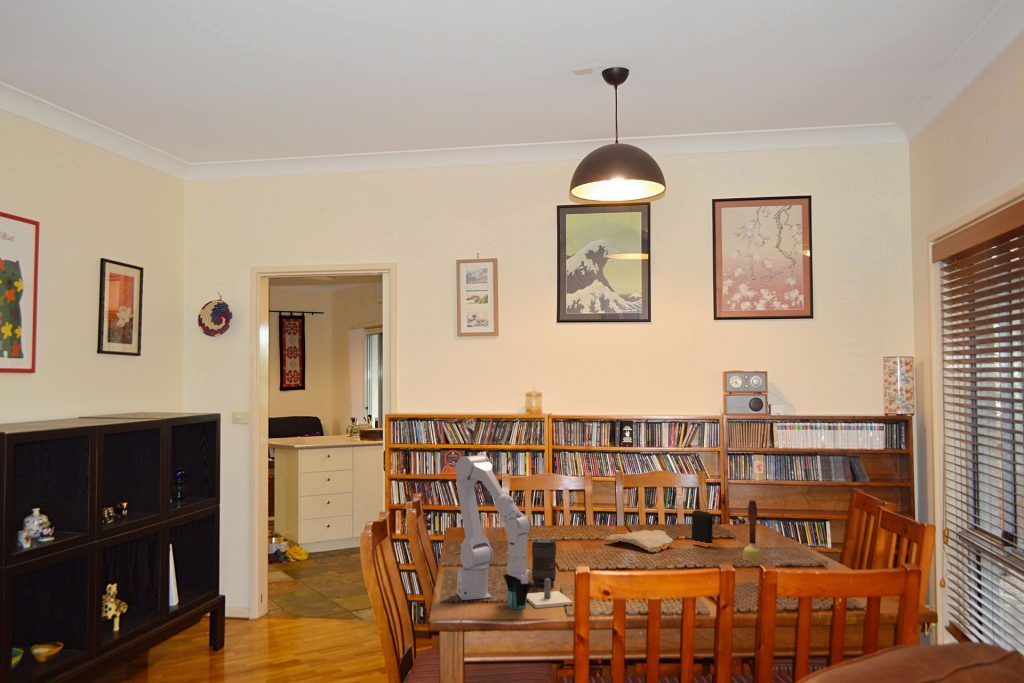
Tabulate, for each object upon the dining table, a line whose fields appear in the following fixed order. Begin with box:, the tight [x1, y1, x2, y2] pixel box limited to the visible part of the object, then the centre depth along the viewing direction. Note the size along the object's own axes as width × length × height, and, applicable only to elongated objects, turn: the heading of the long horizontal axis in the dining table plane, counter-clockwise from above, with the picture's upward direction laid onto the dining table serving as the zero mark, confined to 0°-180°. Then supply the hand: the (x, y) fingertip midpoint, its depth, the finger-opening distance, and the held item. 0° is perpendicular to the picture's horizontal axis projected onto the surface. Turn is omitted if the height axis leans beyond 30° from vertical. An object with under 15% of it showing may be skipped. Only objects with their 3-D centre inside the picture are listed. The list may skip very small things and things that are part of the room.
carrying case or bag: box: [691, 509, 715, 544], centre depth 312 cm, size 11×3×15 cm, turn 41°
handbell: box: [742, 499, 763, 561], centre depth 277 cm, size 12×12×25 cm
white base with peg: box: [526, 578, 574, 609], centre depth 232 cm, size 12×12×7 cm
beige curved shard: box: [603, 529, 674, 548], centre depth 311 cm, size 24×8×20 cm
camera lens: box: [531, 537, 557, 589], centre depth 250 cm, size 8×8×15 cm
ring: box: [506, 587, 527, 610], centre depth 225 cm, size 6×6×5 cm
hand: (516, 601), depth 225 cm, fingers open, 7 cm apart
